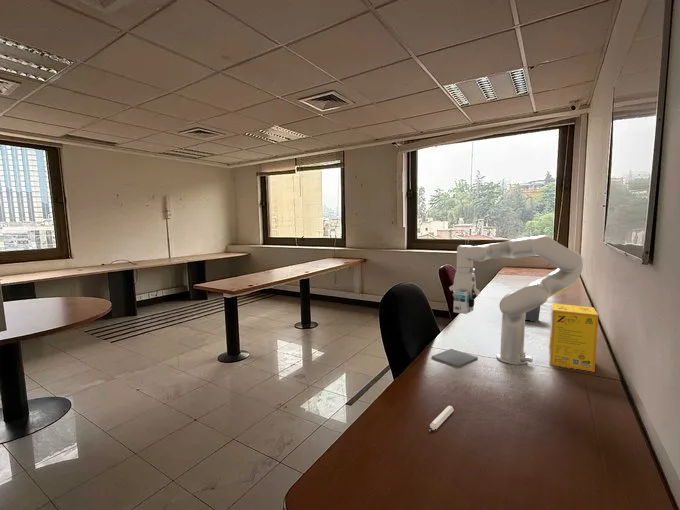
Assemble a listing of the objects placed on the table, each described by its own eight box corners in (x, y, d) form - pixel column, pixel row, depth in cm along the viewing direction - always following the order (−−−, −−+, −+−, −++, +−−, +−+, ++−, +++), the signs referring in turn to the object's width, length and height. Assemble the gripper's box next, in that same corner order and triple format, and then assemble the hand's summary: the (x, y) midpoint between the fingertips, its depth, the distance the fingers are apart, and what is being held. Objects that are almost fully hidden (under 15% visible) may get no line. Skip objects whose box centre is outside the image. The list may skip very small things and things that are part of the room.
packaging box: (548, 353, 166) (551, 303, 164) (589, 360, 157) (593, 307, 155) (549, 364, 152) (552, 310, 150) (594, 373, 143) (598, 315, 141)
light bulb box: (466, 314, 162) (467, 292, 161) (452, 312, 167) (453, 290, 166) (474, 310, 170) (474, 289, 170) (460, 308, 175) (461, 287, 174)
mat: (477, 359, 158) (477, 357, 158) (458, 368, 148) (458, 365, 148) (451, 350, 169) (451, 348, 169) (431, 358, 159) (431, 356, 159)
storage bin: (505, 319, 226) (506, 298, 225) (507, 314, 240) (507, 294, 238) (542, 324, 216) (543, 302, 214) (542, 318, 229) (543, 297, 228)
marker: (428, 436, 101) (449, 413, 113) (434, 435, 100) (454, 412, 112) (424, 427, 102) (445, 405, 114) (430, 426, 101) (451, 404, 113)
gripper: (485, 271, 162) (484, 307, 164) (453, 268, 176) (453, 301, 177) (476, 272, 158) (475, 309, 159) (445, 269, 172) (444, 303, 173)
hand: (463, 305), depth 168 cm, fingers closed on light bulb box, 7 cm apart
